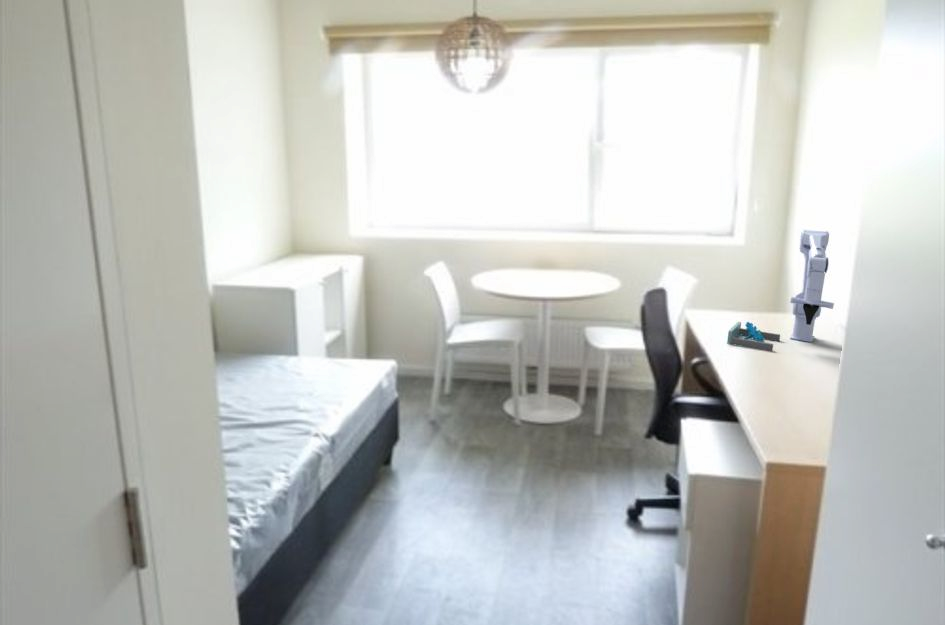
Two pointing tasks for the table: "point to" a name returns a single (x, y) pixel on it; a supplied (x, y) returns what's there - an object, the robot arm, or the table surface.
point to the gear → (753, 332)
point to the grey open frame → (749, 343)
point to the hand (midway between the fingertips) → (808, 324)
